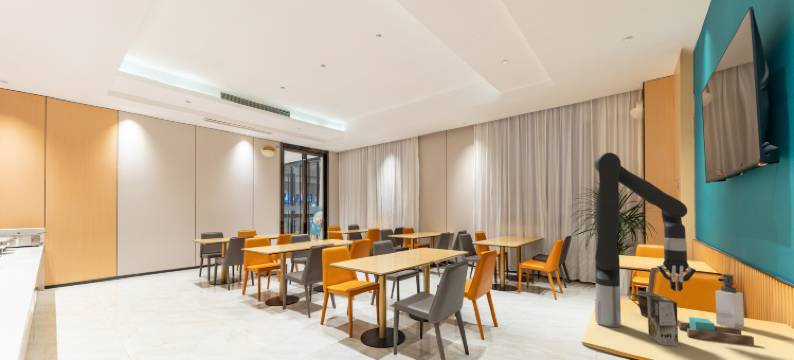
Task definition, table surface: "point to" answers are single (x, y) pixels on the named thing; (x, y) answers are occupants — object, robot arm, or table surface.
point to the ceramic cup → (643, 301)
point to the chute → (718, 334)
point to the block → (701, 324)
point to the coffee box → (662, 320)
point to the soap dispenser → (729, 304)
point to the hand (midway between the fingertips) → (676, 290)
